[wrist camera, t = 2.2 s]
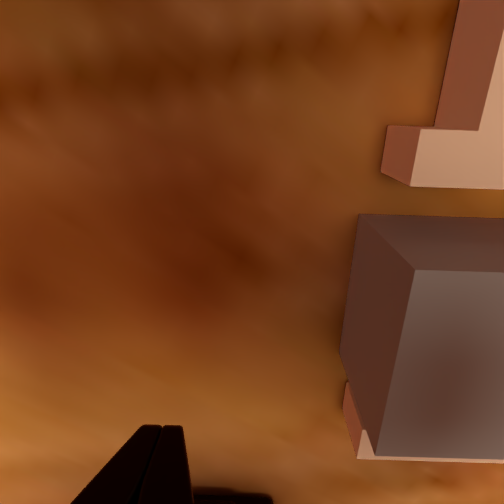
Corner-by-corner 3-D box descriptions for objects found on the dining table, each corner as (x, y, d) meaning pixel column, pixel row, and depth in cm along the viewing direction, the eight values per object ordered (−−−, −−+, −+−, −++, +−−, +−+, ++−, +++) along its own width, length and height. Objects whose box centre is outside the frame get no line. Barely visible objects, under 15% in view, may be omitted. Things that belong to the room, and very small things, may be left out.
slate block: (526, 355, 15) (645, 463, 11) (338, 350, 15) (374, 456, 11) (577, 219, 13) (757, 280, 8) (357, 212, 13) (415, 270, 8)
